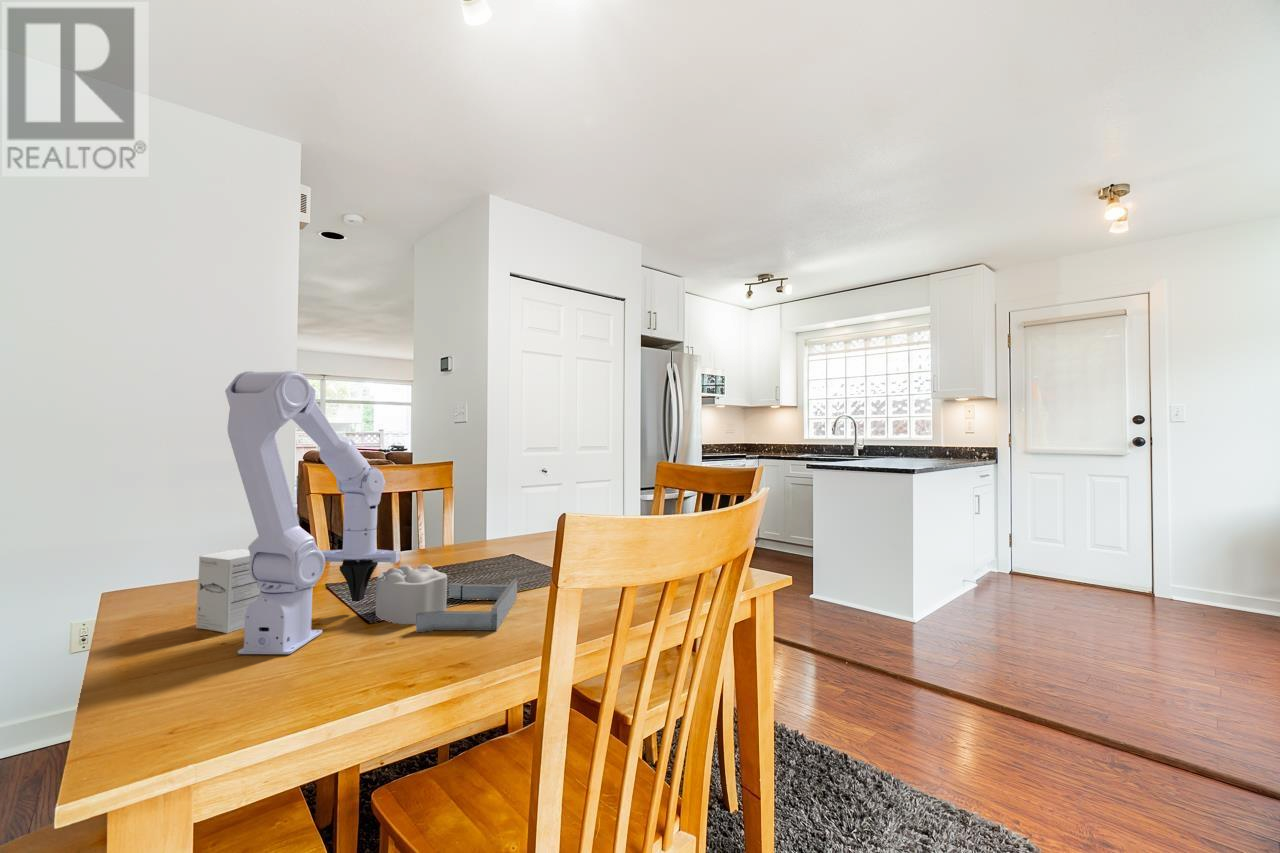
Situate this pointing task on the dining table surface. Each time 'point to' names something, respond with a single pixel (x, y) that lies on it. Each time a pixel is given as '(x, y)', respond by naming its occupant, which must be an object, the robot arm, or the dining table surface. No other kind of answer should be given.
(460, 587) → the bracket
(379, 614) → the lumpy-topped squat cylinder
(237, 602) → the supplement box
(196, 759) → the dining table surface
